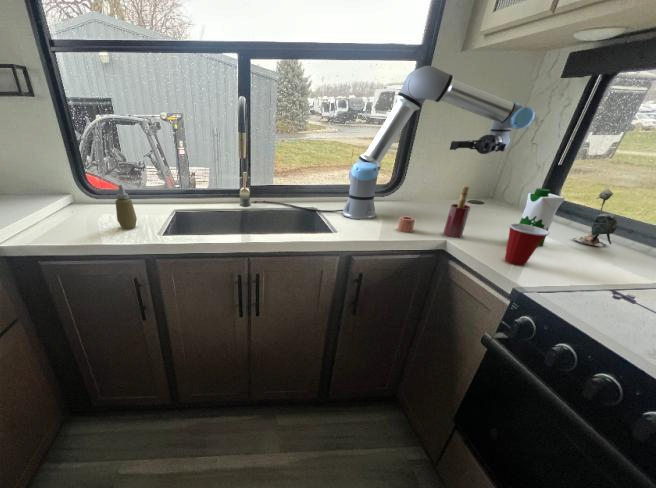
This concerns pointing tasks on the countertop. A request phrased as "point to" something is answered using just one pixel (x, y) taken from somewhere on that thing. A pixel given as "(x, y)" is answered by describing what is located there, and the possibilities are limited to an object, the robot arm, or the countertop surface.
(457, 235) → the can
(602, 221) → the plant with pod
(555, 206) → the milk carton
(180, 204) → the countertop surface
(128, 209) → the squeeze bottle
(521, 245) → the plastic cup
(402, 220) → the straw caddy
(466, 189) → the straw
